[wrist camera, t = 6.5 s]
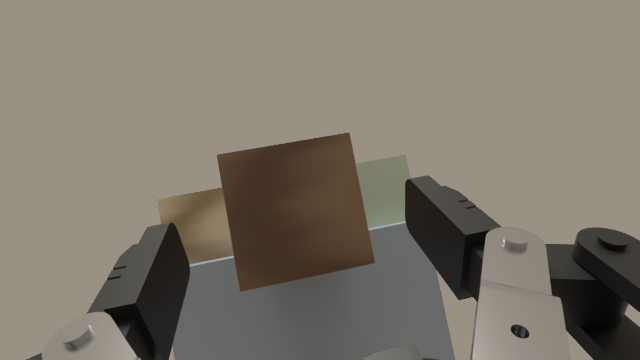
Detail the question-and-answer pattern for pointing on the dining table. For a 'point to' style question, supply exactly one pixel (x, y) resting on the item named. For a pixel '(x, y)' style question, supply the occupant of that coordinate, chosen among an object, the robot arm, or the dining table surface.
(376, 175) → the sage bar
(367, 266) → the stand
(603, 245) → the robot arm
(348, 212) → the walnut bar
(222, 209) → the maple bar
